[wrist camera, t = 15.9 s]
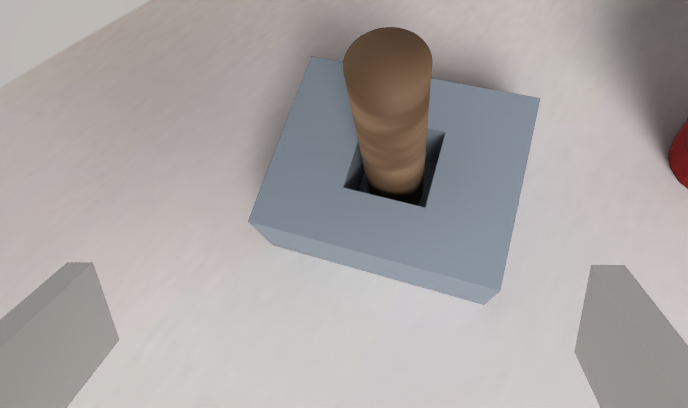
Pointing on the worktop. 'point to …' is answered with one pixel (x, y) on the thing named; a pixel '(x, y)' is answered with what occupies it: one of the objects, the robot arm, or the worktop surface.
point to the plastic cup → (680, 155)
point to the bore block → (394, 216)
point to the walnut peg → (390, 109)
